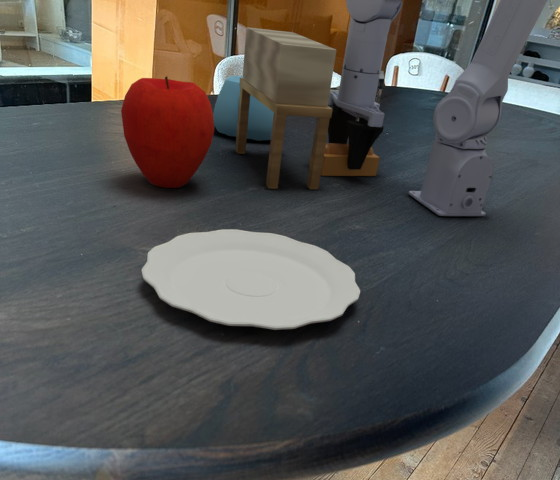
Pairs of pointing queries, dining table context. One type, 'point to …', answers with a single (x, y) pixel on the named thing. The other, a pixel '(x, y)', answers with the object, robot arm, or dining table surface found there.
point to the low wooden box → (338, 159)
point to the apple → (167, 129)
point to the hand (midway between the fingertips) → (344, 162)
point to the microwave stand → (286, 91)
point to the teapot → (228, 113)
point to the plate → (250, 279)
